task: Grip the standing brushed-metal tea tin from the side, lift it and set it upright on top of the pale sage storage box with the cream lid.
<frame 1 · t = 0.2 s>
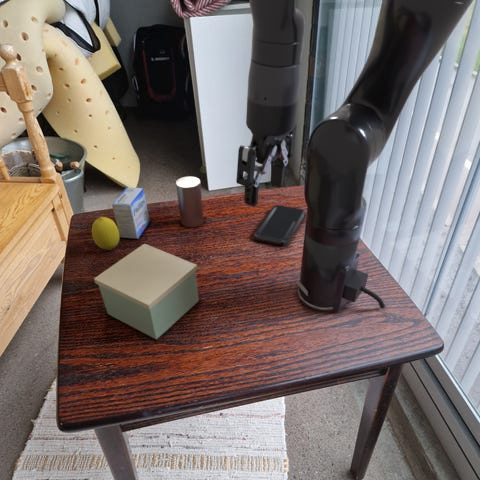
hand: (264, 194, 74), 17 cm above the table, tool pointing down, fingers open, 8 cm apart
lemon: (110, 250, 93), on the table
storage box: (153, 307, 79), on the table
tea tin: (192, 221, 100), on the table
medicine box: (135, 230, 98), on the table
phone: (280, 227, 98), on the table
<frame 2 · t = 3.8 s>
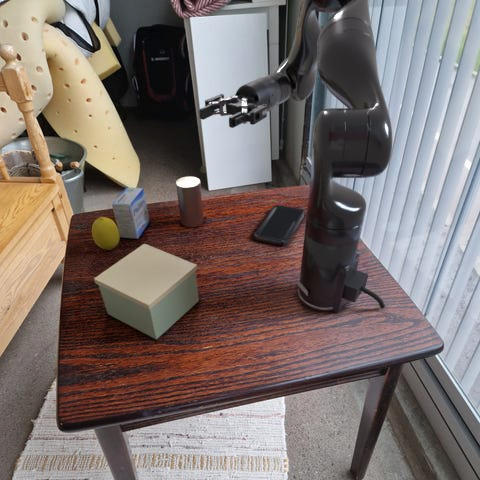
hand: (215, 118, 92), 20 cm above the table, tool horizontal, fingers open, 8 cm apart
nothing on the table moved.
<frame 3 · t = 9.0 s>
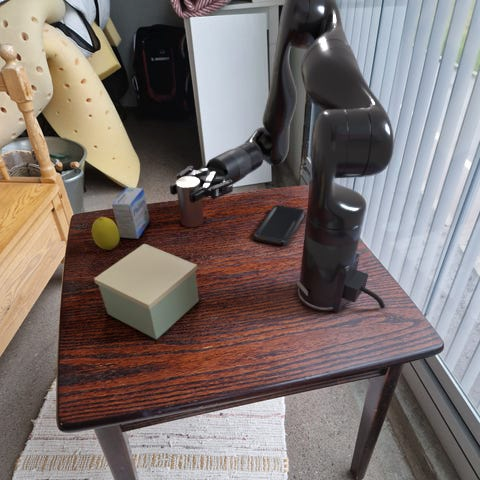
hand: (181, 194, 94), 8 cm above the table, tool horizontal, fingers closed on tea tin, 5 cm apart
tea tin: (192, 221, 100), on the table, touching gripper
everything else where it was.
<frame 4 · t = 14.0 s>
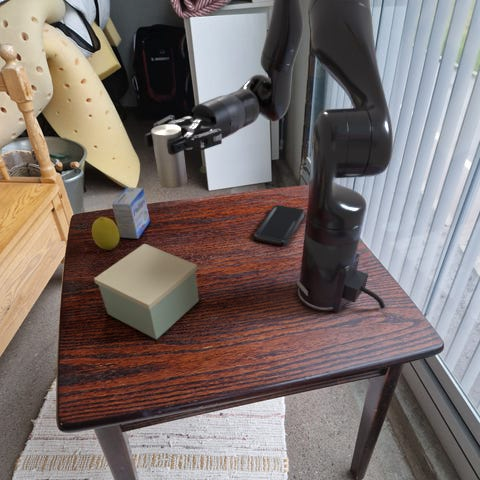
hand: (157, 145, 76), 23 cm above the table, tool horizontal, fingers closed on tea tin, 5 cm apart
tea tin: (173, 181, 83), point 15 cm above the table, touching gripper
everything else where it was.
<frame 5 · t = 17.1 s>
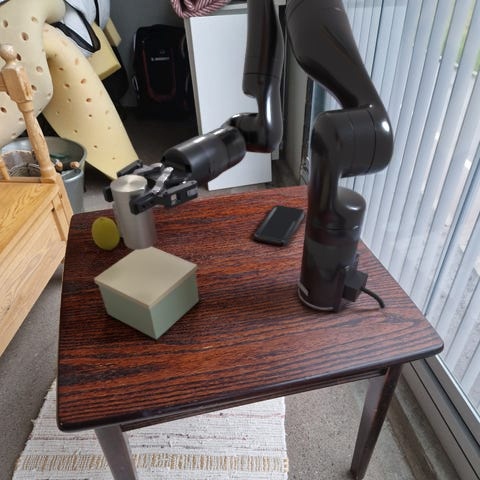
hand: (118, 202, 62), 22 cm above the table, tool horizontal, fingers closed on tea tin, 5 cm apart
tea tin: (141, 240, 69), point 14 cm above the table, touching gripper
everything else where it was.
when the fingers open (16 cm above the table, at t = 19.3 s): tea tin stays where it is, resting on storage box.
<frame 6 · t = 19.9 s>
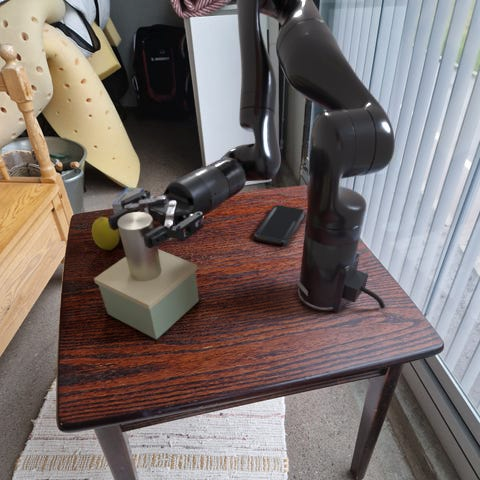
hand: (127, 233, 66), 17 cm above the table, tool horizontal, fingers open, 8 cm apart
tea tin: (145, 271, 73), point 8 cm above the table, touching storage box
everything else where it was.
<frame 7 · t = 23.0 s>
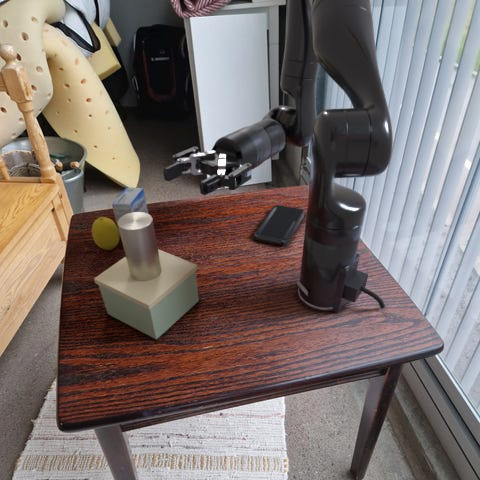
hand: (182, 182, 70), 20 cm above the table, tool horizontal, fingers open, 8 cm apart
nothing on the table moved.
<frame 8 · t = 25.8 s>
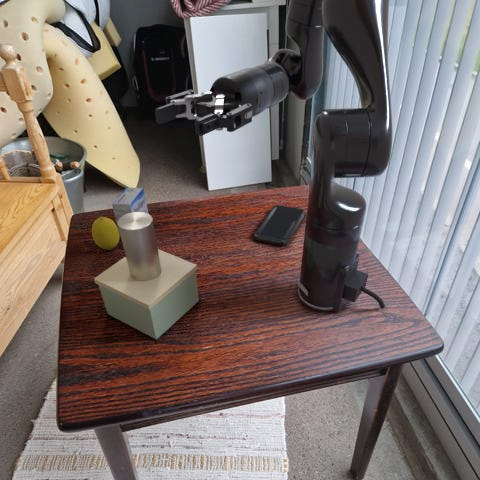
hand: (176, 122, 64), 30 cm above the table, tool horizontal, fingers open, 8 cm apart
nothing on the table moved.
at the end: tea tin inside the target area on the storage box (0.1 cm from its centre), point 8.4 cm above the storage box's base; tea tin tilted 0°; the gripper is holding nothing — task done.
